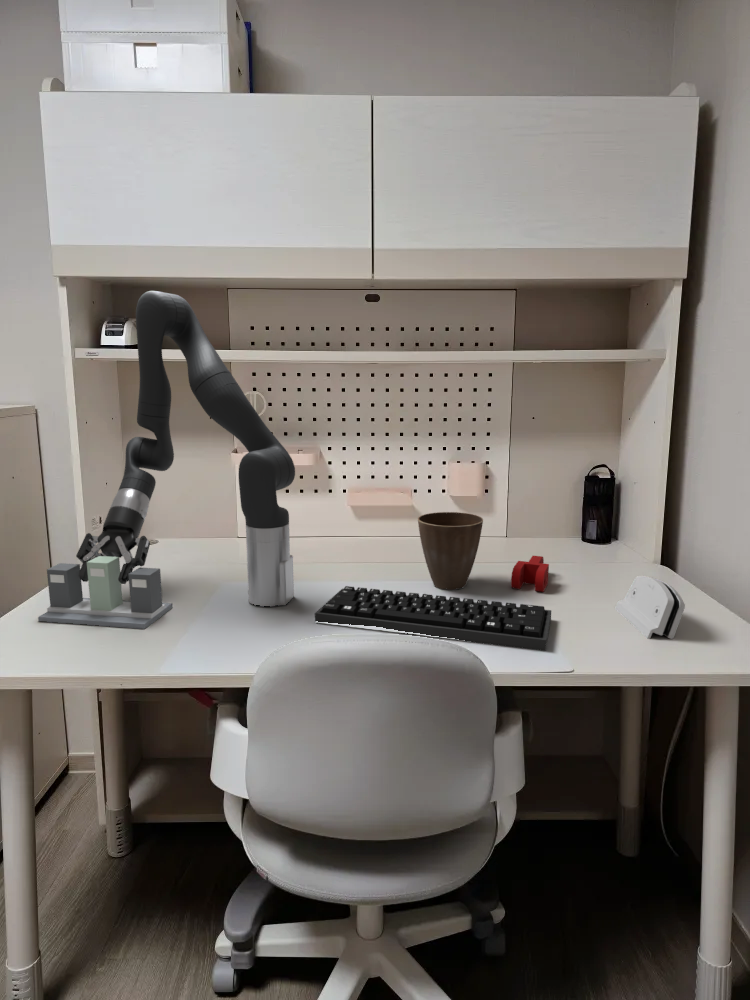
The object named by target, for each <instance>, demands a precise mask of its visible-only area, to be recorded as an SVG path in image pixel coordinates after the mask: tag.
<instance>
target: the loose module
mask: <svg viewBox="0 0 750 1000" xmlns="http://www.w3.org/2000/svg"><path fill="white" fill-rule="evenodd" d="M91 559H92V558H91ZM120 562H121V561H120V558H119V557H108V556H98V557H96V558H94V559H92V560H90V561H88V562H87V571H88V581H87V582H88V592H89V598H90V606H91V609H93V610H109V611H111V610H113V609H114V608H116V607H118V606H119V605H121V604H122V603H123V600H124V599H123V590H122V589H123V588H122V584H121V583H120V582H119V581H118V578H119V575H120V572H121V563H120Z"/></svg>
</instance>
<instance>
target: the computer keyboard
mask: <svg viewBox="0 0 750 1000" xmlns="http://www.w3.org/2000/svg"><path fill="white" fill-rule="evenodd" d="M315 621H318V622H328V623H338V624H349V625H350V624H351V625H364V626H376V627H383V628H386V629H394V630H398V631H405V632H413V633H420V634H426V635H431V636H439V637H447V638H455V639H459V640H465V641H464V642H467V641H471V642H470V643H475V642H476V644H483V643H484V645H491V644H493V645H492V646H501V647H510V648H518V649H527V650H534V651H543V652H545V651H547V647H548V646H547V645H548V639H549V633H550V627H551V622H552V610H550V609H545V606H543V605H533V604H523V603H520V605H519V606H517V603H514V602H513V603H512V602H506V603H505V605H503V603H502V601H496V600H495V601H494V600H492V601H491V603H489V602H488V600H487V599H486V600H484V599H477V600H476V602H475V601H474V599H473V598H466V597H464V598H463V599H462V600H461V599H460V597H457V596H449V598H448V599H447V597H446V596H445V595H437V594H436V595H435V597H433V594H426V593H422V595H421V596H420V593H418V592H417V593H416V592H409V593H408V595H407V592H406V591H398V590H396V592H395V593H394V592H393V590H389V589H388V590H387V589H383V590H382V591H381V590H380V589H377V588H370V589H369V591H368V588H367V587H360V586H359V587H357V588H356V589H355V587H354V586H350V585H349V586H348V585H345V586H344V588H340V590H339V591H338V592H336V593H335V595H333V596H332V597H331V598H330V599H329V600H327V602H325V603H324V605H322V606H321V607H320V608H319V609H318V610H317V611H315V613H314V622H315ZM399 634H402V635H409V634H408V633H407V634H405V633H399ZM411 636H415V635H414V634H412V635H411Z"/></svg>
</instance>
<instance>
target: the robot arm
mask: <svg viewBox="0 0 750 1000" xmlns="http://www.w3.org/2000/svg"><path fill="white" fill-rule="evenodd" d="M197 317H198V316H197V315H196V313H195V311H194V310H193V308H192V306H191V305H190V304H189V302H188V301H187V299H185V298H183V297H182V296H180V295H178V294H175V293H168V292H163V291H157V290H149V291H146V292H144V293H143V294H142V295H140V297H139V299H138V301H137V303H136V309H135V326H136V328H135V329H136V340H137V343H136V344H137V354H138V355H137V356H138V367H139V370H138V371H139V389H138V403H137V413H136V423H137V425H138V426H140V427H141V428H144V429H146V430H148V431H150V432H152V433H153V434H154V435H155V438H150V437H143V436H133V438H131V439H130V440H129V441H128V442H127V444H126V446H125V458H124V459H125V463H124V464H125V465H124V471H123V477H122V479H121V483H120V485H119V488H118V490H117V493H115V496H114V498H113V499H112V502H111V505H110V507H109V509H108V511H107V514H106V517H105V520H104V522H103V525H102V532H101V533H100V534H99V535H93V534H91V533H90V532H88V533H86V534H85V536H84V538H83V540H82V542H81V544H80V547H79V549H78V551H77V553H76V558H77V560H79V561H80V562H81V563H82V565H81V566H80V572H79V576H80V579H81V582H85V583H87V582H88V571H87V562H88V561H90V560H92V559H94V558H96V557H98V556H108V557H119V559H120V558H122V557H123V559H124V562H125V563H123V564H122V567H121V568H120V575H119V578H118V581H119V582H120V583H121V585H126V584H127V582H128V583H129V575H128V574H129V573H131V572H133V571H134V569H135V568H136V567H144V566H145V564H146V560H147V557H148V554H149V549H150V546H151V542H150V541H149V539H148V537H146V536H145V535H141V536H140V534H141V531H142V529H143V525H144V522H145V519H146V517H147V515H148V512H149V507H150V506H149V505H150V502H151V499H152V497H153V493H154V490H155V488H156V483H157V482H156V481H157V480H156V478H155V477H154V475H152V474H151V473H150V472H148V471H146V470H151V471H152V470H153V471H159V472H166V471H167V470H169V469H170V468H171V466H172V465H173V463H174V459H175V458H174V457H175V453H174V446H173V441H172V436H171V428H170V427H171V426H170V417H171V406H172V388H171V383H170V380H169V377H168V374H167V371H166V368H165V365H164V359H163V341H164V337H169V338H171V339H172V340H173V342H174V343H175V344H176V345H177V347H178V349H179V350H180V352H181V353H182V354H183V356H184V358H185V361H186V364H187V365H186V366H187V367H186V368H187V377H188V383H189V387H190V390H191V392H192V394H193V395H194V397H195V398H196V400H197V402H198V403H199V404H200V406H201V408H202V409H203V411H204V412H205V414H207V415H208V417H209V418H210V419H211V420H213V421H214V422H215V423H217V424H218V425H219V426H220V427H221V428H223V429H225V430H226V431H227V432H228V433H230V434H231V435H232V436H234V438H235V437H236V439H237V440H239V442H240V443H241V444H242V445H243V446H244V447H245V449H246V450H247V453H246V454H245V455H243V457H242V458H241V460H240V462H239V466H238V487H239V488H238V489H239V499H240V508H241V511H242V514H243V516H244V519H245V536H246V537H245V541H246V562H247V564H246V566H247V587H248V589H247V594H248V602H249V603H250V604H252V605H253V604H254V605H253V606H256V605H260V606H259V607H264V606H270V607H276V606H275V605H278V606H287V605H288V604H289V603H288V602H290V601H292V599H293V598H294V597H295V590H294V585H295V584H294V580H295V579H294V556H293V555H292V554H291V545H290V544H291V543H290V513H289V510H288V509H286V508H285V507H282V506H280V505H279V504H278V497H277V491H280V490H282V489H285V488H288V487H289V486H291V485H292V483H293V482H294V480H295V477H296V467H295V463H294V460H293V459H292V456H291V455H290V453H289V452H288V450H286V448H285V447H284V445H282V443H281V441H279V440H278V438H277V437H276V436H275V435H274V433H272V431H271V430H270V429H269V427H268V426H267V425H266V424H265V422H264V421H263V419H262V418H261V417H260V415H259V413H258V412H257V411H256V409H255V408H254V406H253V405H252V403H251V402H250V401H249V398H247V396H246V394H245V393H244V391H243V389H242V388H241V386H240V385H239V383H238V382H237V381H236V379H235V378H234V376H233V374H232V372H231V371H230V370H229V369H228V367H227V366H226V364H225V363H224V361H223V360H222V359H221V357H220V355H219V353H218V352H217V350H216V348H215V347H214V346H213V344H212V343H211V341H210V340H209V338H208V337H207V335H206V333H205V331H204V329H203V327H202V325H201V323H200V321H199V319H198V318H197ZM143 469H145V470H143ZM136 546H137V548H136V551H135V554H134V556H133V554H132V551H131V550H132V549H134V548H135V547H136ZM99 551H101V552H100V553H99ZM293 596H294V597H293ZM287 603H288V604H287ZM286 604H287V605H286Z"/></svg>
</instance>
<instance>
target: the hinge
mask: <svg viewBox="0 0 750 1000" xmlns="http://www.w3.org/2000/svg"><path fill="white" fill-rule="evenodd" d="M685 608H686V603H685V601H684V600H683V598H682V596H681V595H680V594H679V591H677V590H676V589H675V588H674V587H673V586H672V585H670V584H668V583H667V582H665V581H664V580H661V579H657V578H655V577H653V576H647V575H646V576H645V575H637V576H635V577H634V579H633V582H632V583H631V585H630V587H629V589H628V591H627V592H626V594H625V597H624V598H622V599H620V600H618V601H617V603H616V604H615V607H614V610H615V611H617V613H618V614H620V615H621V616H622V617H623V618H624V619H625V620H626V621H628V623H630V625H632V626H633V627H634V628H635V629H636V630H637V631H638V632H639V633H641V635H642V636H644V637H645V639H647V640H648V639H649V640H650V639H651V637H652V635H653V634H656V635H659V636H663V635H664V637H667V638H668V639H671V640H673V639H674V638H675V635H676V632H677V629H678V627H679V625H680V622H681V618H682V617H683V614H684V611H685Z"/></svg>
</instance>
